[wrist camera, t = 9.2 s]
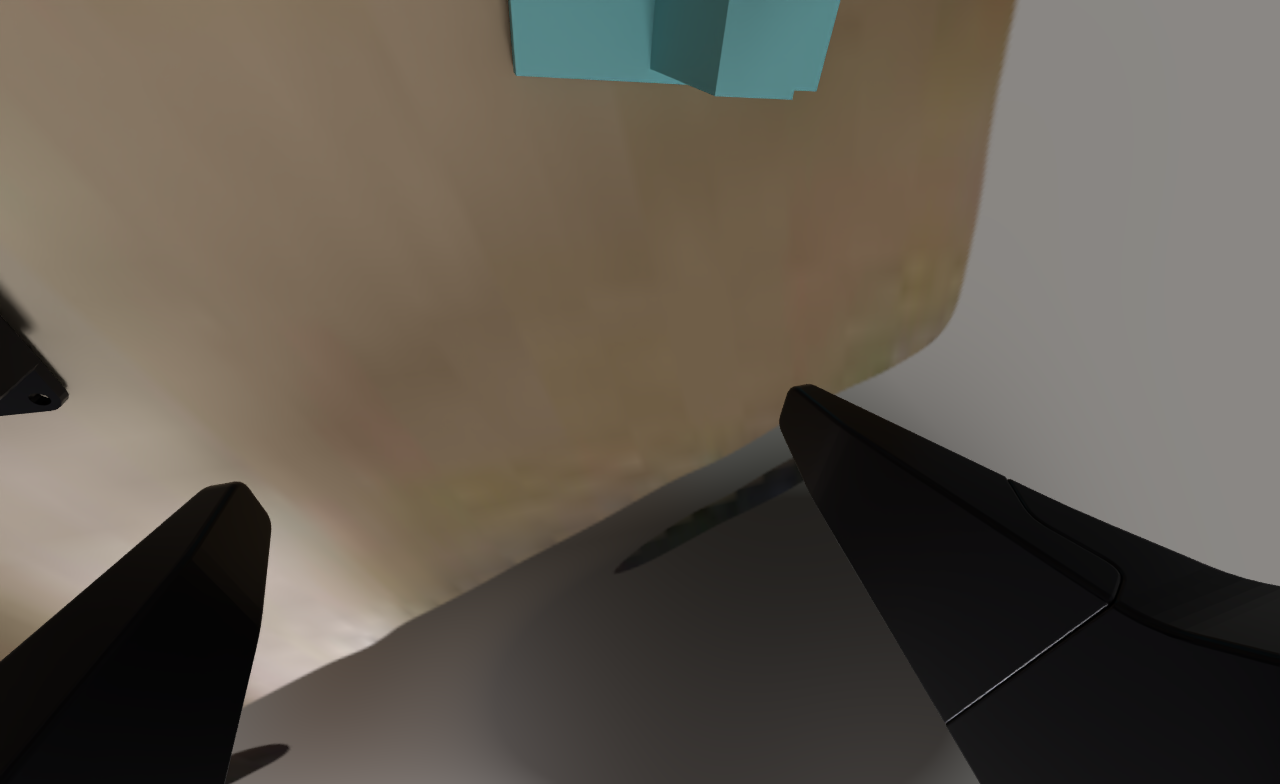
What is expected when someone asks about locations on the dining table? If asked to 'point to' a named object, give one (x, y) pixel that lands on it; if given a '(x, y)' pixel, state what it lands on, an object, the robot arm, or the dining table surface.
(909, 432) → the robot arm
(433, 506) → the dining table surface
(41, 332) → the dining table surface
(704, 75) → the stub
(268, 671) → the dining table surface
